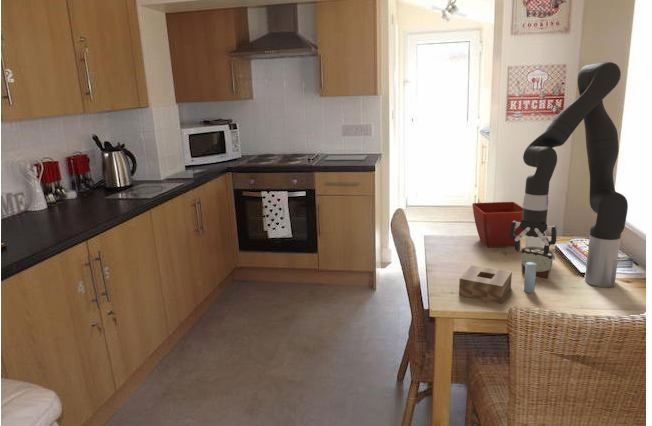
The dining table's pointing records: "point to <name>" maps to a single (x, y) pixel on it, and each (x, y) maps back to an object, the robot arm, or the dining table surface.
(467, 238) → the dining table surface
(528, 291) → the dowel
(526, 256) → the food container
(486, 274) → the socket block
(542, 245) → the cylindrical container
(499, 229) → the plant pot
